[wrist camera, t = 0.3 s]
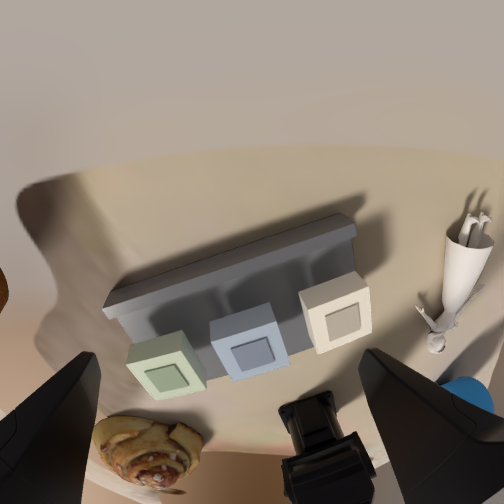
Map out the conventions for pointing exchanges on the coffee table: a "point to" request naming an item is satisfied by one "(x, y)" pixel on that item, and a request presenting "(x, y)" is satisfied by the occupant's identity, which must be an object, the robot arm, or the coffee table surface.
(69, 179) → the coffee table surface
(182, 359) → the key sage
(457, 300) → the woman figurine
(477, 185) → the coffee table surface
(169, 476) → the pastry
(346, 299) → the key ivory
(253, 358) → the key blue
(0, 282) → the disposable coffee cup
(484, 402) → the alarm clock
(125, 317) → the keypad
